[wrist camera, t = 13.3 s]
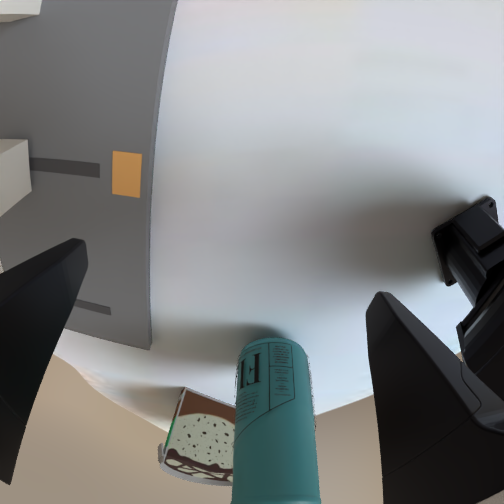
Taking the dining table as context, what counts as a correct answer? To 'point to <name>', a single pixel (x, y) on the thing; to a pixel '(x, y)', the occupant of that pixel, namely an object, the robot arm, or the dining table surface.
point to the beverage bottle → (274, 426)
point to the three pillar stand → (87, 146)
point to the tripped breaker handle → (13, 172)
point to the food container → (200, 440)
